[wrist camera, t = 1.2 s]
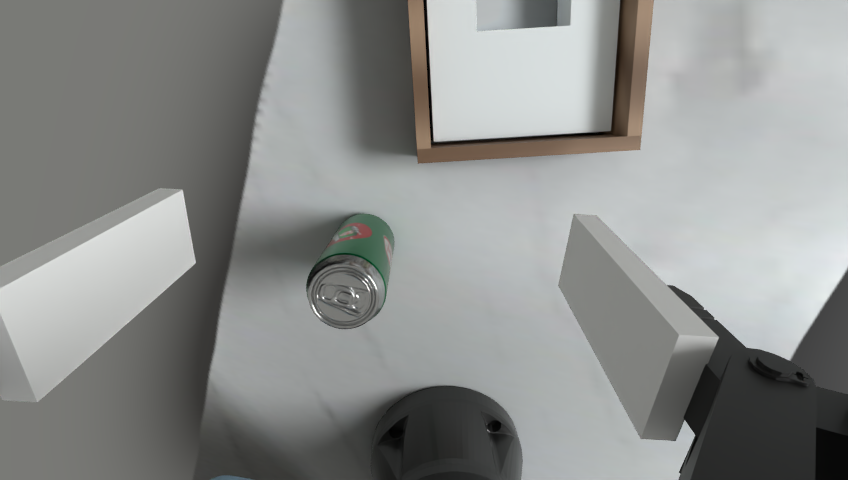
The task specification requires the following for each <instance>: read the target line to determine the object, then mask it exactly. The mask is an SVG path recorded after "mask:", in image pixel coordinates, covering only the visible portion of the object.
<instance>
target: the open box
mask: <svg viewBox="0 0 848 480" xmlns="http://www.w3.org/2000/svg"><path fill="white" fill-rule="evenodd" d="M653 3H654V0H620V10H619V24H618V39H617V53H616V67H615V81H614V96H613V110H612V124H611V131H603V132H598V133H588V134H571V135H555V136H539V137H522V138H506V139H490V140H473V141H457V142H441V143H431V138H430V119H429V100H428V81H427V62H426V43H425V24H424V5H423V0H408V12H409V28H410V44H411V60H412V77H413V93H414V109H415V125H416V141H417V157H418V163H433V162H449V161H465V160H481V159H498V158H514V157H530V156H547V155H563V154H579V153H596V152H612V151H628V150H640V145H641V134H642V123H643V112H644V101H645V91H646V80H647V69H648V58H649V47H650V36H651V25H652V14H653Z"/></svg>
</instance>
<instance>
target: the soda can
mask: <svg viewBox="0 0 848 480" xmlns="http://www.w3.org/2000/svg"><path fill="white" fill-rule="evenodd" d="M393 250H394V236H393V233H392V231H391V229H390V227H389V226H388V225H387V223H386V222H384V221H383V220H382V219H380V218H379V217H377V216H374V215H370V214H358V215H354V216H352V217H350V218H348V219H347V220H345V221H344V222H343V223H342V225H341V226H340V227H339V229H338V230H337V232H336V233H335V235H334V236H333V238H332V239H331V241H330V243H329V244H328V246H327V247H326V249H325V250H324V252H323V253H322V255H321V256H320V258H319V259H318V261H317V262H316V264H315V265H314V267H313V268H312V270H311V272H310V274H309V276H308V279H307V284H306V291H307V297H308V300H309V303H310V306H311V309H312V310H313V312H314V314H315V315H316V316H317V317H318V318H319V319H320V320H321V321H322V322H324V323H325V324H327V325H329V326H332V327H334V328H339V329H352V328H356V327H359V326H361V325H363V324H365V323H366V322H367V321H369V320H371V319H372V318H374V317H375V316H376V315H377V314H378V313H379V311H380V310H381V308H382V307H383V305H384V302H385V299H386V294H387V287H388V281H389V275H390V269H391V263H392V256H393Z"/></svg>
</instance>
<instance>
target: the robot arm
mask: <svg viewBox="0 0 848 480" xmlns="http://www.w3.org/2000/svg"><path fill="white" fill-rule="evenodd" d="M195 263H196V261H195V256H194V251H193V245H192V239H191V234H190V228H189V223H188V217H187V212H186V206H185V201H184V195H183V190H179V189H164V188H159V189H157V190H155V191H153V192H151V193H149V194H147V195H145V196H143V197H141V198H139V199H137V200H135V201H133V202H131V203H129V204H127V205H125V206H122V207H121V208H118V209H117V210H114V211H112V212H110V213H108V214H106V215H104V216H102V217H100V218H98V219H96V220H94V221H92V222H90V223H88V224H86V225H84V226H82V227H80V228H78V229H76V230H74V231H72V232H70V233H67V234H66V235H63V236H62V237H59V238H57V239H55V240H53V241H51V242H49V243H47V244H45V245H43V246H41V247H39V248H37V249H35V250H33V251H31V252H29V253H27V254H25V255H23V256H21V257H18V258H16V259H14V260H12V261H10V262H8V263H6V264H4V265H2V266H0V397H1V399H2V400H6V401H22V402H39V401H40V400H41V399H42V398H43V397H44V396H45V395H46V394H47V393H49V392H50V391H51V390H52V389H53V388H54V387H55V386H57V385H58V384H59V383H60V382H61V381H62V380H63V379H65V378H66V377H67V376H68V375H69V374H70V373H71V372H73V371H74V370H75V369H76V368H77V367H78V366H79V365H80V364H82V363H83V362H84V361H85V360H86V359H87V358H89V356H91V355H92V354H93V353H94V352H95V351H97V349H99V348H100V347H101V346H102V345H103V344H104V343H105V342H107V341H108V340H109V339H110V338H111V337H112V336H114V335H115V334H116V333H117V332H118V331H119V330H120V329H121V328H123V327H124V326H125V325H126V324H127V323H128V322H129V321H130V320H132V319H133V318H134V317H135V316H136V315H137V314H139V312H141V311H142V310H143V309H144V308H145V307H146V306H148V305H149V304H150V303H151V302H152V301H153V300H154V299H156V298H157V297H158V296H159V295H160V294H161V293H162V292H164V291H165V290H166V289H167V288H168V287H169V286H170V285H171V284H173V283H174V282H175V281H176V280H177V279H178V278H179V277H181V276H182V275H183V274H184V273H185V272H186V271H187V270H188V269H190V268H191V267H192V266H193V265H194V264H195ZM558 286H559V288H560V289H561V291H562V293H563V295H564V297H565V299H566V301H567V302H568V304H569V306H570V308H571V310H572V312H573V314H574V316H575V317H576V319H577V321H578V323H579V325H580V327H581V329H582V330H583V332H584V334H585V336H586V338H587V340H588V342H589V343H590V345H591V347H592V349H593V351H594V353H595V355H596V356H597V358H598V360H599V362H600V364H601V366H602V368H603V369H604V371H605V373H606V375H607V377H608V379H609V381H610V382H611V384H612V386H613V388H614V390H615V392H616V394H617V396H618V397H619V399H620V401H621V403H622V405H623V407H624V409H625V410H626V412H627V414H628V416H629V418H630V420H631V422H632V423H633V425H634V427H635V429H636V431H637V433H638V435H639V436H640V438H641V439H653V440H670V441H676V439H677V437H678V434H679V432H680V429H681V427H682V425H683V422H684V420H685V421H686V422H687V423H688V425H689V426H690V428H691V429H692V431H693V432H694V434H695V437H694V440H693V442H692V444H691V446H690V449H689V451H688V453H687V456H686V458H685V460H684V462H683V465H682V467H681V469H680V471H679V473H681V474H680V477H679V480H848V394H843V393H839V392H836V391H832V390H828V389H824V388H820V387H816V385H815V383H814V380H813V379H812V378H811V377H810V376H809V375H808V374H807V373H806V372H805V371H804V370H803V369H801V368H800V367H798V366H797V365H795V364H794V363H792V362H791V361H789V360H786V359H784V358H782V357H780V356H778V355H775V354H772V353H769V352H766V351H763V350H759V349H751V348H746V347H745V346H744V345H743V344H742V343H741V342H740V341H739V340H737V339H736V338H735V337H734V336H733V335H732V334H731V333H730V332H729V331H728V330H727V329H726V328H725V327H724V326H723V325H722V324H720V323H719V322H718V321H717V320H714V317H713V316H712V315H711V314H710V313H709V312H708V311H707V310H704V308H703V307H702V306H701V305H700V304H699V303H698V302H697V301H696V300H695V299H694V298H693V297H692V296H690V295H689V294H687V293H685V292H683V291H682V290H680V289H678V288H676V287H675V286H671V285H666V284H665V283H664V282H663V281H662V280H661V279H660V278H659V277H658V276H657V275H656V274H655V273H654V272H653V271H652V270H651V269H650V268H649V267H648V266H647V265H646V264H645V263H644V262H643V261H642V260H641V259H640V258H639V257H638V256H637V255H636V254H635V253H634V252H633V251H632V250H631V249H630V248H629V247H628V246H627V245H626V244H625V243H624V242H623V241H622V240H621V239H620V238H619V237H618V236H617V235H616V234H615V233H614V232H613V231H612V230H611V229H610V228H609V227H608V226H607V225H606V224H605V223H604V222H603V221H602V220H601V219H600V218H599V217H597V216H596V215H581V214H574V215H573V220H572V224H571V229H570V234H569V238H568V243H567V247H566V252H565V257H564V261H563V266H562V271H561V275H560V280H559V285H558ZM522 462H523V460H522V449H521V445H520V441H519V438H518V435H517V432H516V428H515V426H514V423H513V421H512V420H511V418H510V416H509V415H508V413H507V412H506V411H505V410H504V409H503V408H502V407H501V406H500V405H499V404H498V403H497V402H495V401H494V400H492V399H491V398H489V397H488V396H486V395H484V394H482V393H479V392H476V391H473V390H470V389H466V388H460V387H435V388H429V389H425V390H421V391H418V392H416V393H413V394H411V395H409V396H407V397H405V398H403V399H402V400H400V401H399V402H397V403H396V404H395V405H394V406H392V407H391V408H390V409H389V410H388V411H387V412H386V414H385V415H384V416H383V417H382V419H381V420H380V422H379V424H378V426H377V428H376V431H375V434H374V438H373V444H372V452H371V472H372V477H373V480H521V474H522ZM210 480H254V479H248V478H242V477H237V476H231V475H223V476H218V477H215V478H212V479H210Z"/></svg>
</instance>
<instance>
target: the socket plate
mask: <svg viewBox="0 0 848 480" xmlns="http://www.w3.org/2000/svg"><path fill="white" fill-rule="evenodd" d="M425 5H426V25H427V44H428V64H429V83H430V103H431V122H432V139H433V141H434V142H439V141H456V140H472V139H488V138H505V137H521V136H537V135H554V134H570V133H586V132H603V131H611V124H612V110H613V96H614V81H615V67H616V53H617V39H618V24H619V10H620V0H558V8H557V26H555V27H538V28H522V29H505V30H489V31H477V20H476V0H425Z"/></svg>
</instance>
